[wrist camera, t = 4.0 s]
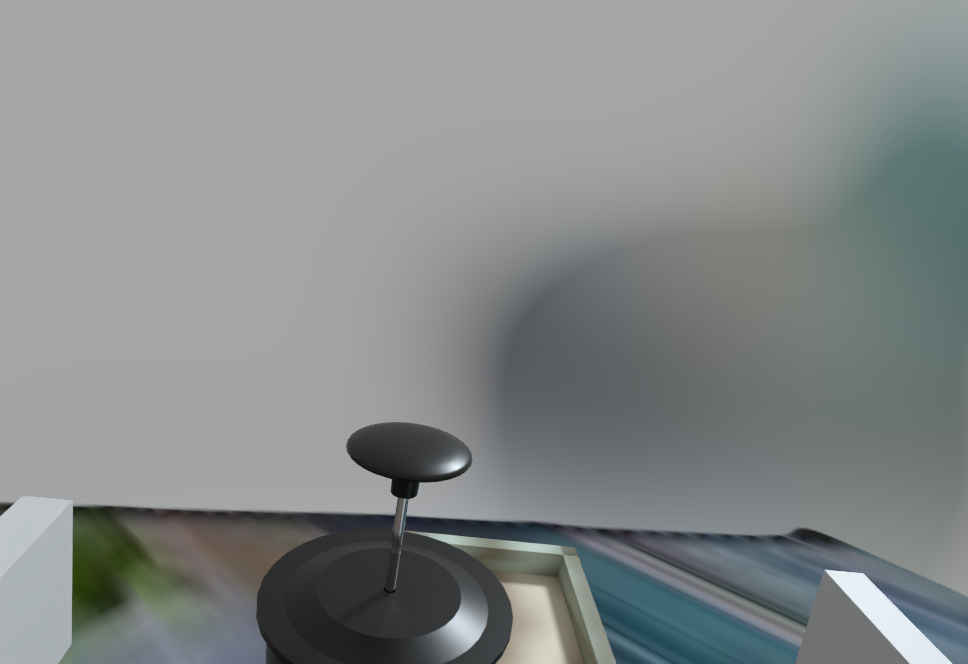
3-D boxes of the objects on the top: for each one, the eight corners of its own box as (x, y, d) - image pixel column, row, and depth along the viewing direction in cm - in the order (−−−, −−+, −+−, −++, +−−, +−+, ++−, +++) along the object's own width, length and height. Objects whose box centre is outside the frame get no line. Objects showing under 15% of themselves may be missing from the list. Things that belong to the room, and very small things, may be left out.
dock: (356, 753, 39) (363, 708, 39) (376, 560, 57) (381, 526, 56) (641, 770, 41) (652, 727, 41) (576, 578, 59) (583, 546, 58)
